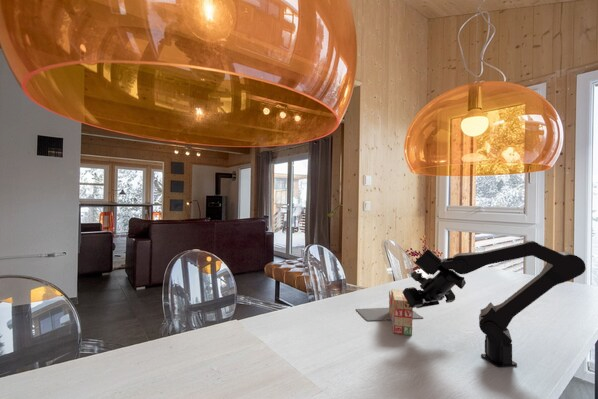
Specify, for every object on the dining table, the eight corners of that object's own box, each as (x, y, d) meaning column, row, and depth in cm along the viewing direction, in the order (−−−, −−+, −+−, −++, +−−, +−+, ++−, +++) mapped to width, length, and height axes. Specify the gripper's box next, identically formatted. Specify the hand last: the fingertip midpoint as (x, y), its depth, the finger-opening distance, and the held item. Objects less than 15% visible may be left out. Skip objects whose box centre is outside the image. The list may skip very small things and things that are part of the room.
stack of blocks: (388, 311, 124) (389, 282, 124) (404, 312, 123) (404, 283, 123) (393, 333, 103) (394, 299, 103) (412, 335, 102) (413, 300, 102)
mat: (423, 318, 118) (423, 317, 118) (367, 321, 115) (367, 320, 115) (406, 307, 131) (406, 306, 131) (355, 309, 127) (355, 308, 127)
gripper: (448, 261, 104) (424, 284, 114) (406, 264, 97) (385, 289, 107) (468, 289, 96) (441, 312, 106) (424, 295, 90) (400, 318, 100)
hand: (416, 306), depth 105 cm, fingers closed
